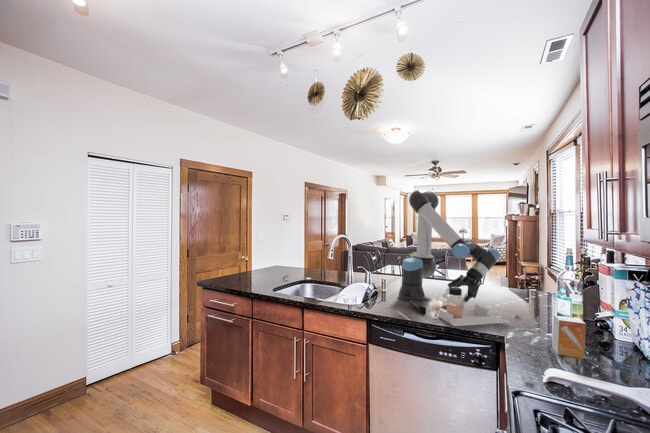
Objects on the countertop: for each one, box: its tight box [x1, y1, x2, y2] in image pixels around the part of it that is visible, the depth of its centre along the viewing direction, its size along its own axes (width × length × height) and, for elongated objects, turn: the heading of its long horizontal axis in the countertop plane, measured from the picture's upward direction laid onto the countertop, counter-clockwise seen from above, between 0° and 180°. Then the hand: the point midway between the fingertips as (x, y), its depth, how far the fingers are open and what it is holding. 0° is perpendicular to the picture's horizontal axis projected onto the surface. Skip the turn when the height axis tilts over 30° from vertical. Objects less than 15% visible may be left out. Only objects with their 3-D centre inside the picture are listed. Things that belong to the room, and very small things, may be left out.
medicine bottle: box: [446, 287, 465, 310], centre depth 160 cm, size 7×7×12 cm
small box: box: [551, 314, 587, 360], centre depth 113 cm, size 8×6×13 cm
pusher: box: [474, 303, 491, 317], centre depth 147 cm, size 8×4×5 cm, turn 13°
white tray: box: [436, 308, 504, 327], centre depth 145 cm, size 14×26×5 cm, turn 103°
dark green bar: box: [407, 300, 427, 315], centre depth 158 cm, size 5×3×15 cm
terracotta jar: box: [446, 302, 463, 319], centre depth 143 cm, size 7×7×7 cm
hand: (451, 301), depth 160 cm, fingers open, 13 cm apart
